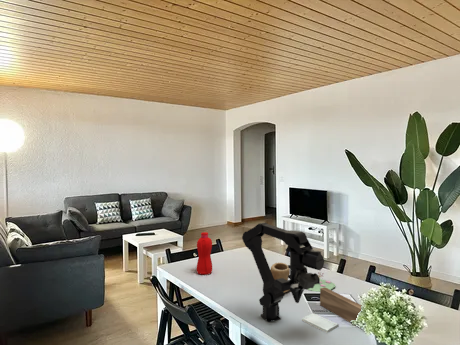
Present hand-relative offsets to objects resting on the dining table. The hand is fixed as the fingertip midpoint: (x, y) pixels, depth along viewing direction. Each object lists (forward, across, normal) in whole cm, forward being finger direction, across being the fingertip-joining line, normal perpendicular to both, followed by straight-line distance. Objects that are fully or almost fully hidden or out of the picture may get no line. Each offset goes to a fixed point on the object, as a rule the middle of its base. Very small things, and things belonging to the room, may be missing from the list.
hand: (297, 302), depth 121 cm
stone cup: (+11, +16, +34) cm, 39 cm away
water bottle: (+11, -9, +79) cm, 80 cm away
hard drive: (+12, +12, 0) cm, 17 cm away
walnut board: (+11, +26, 0) cm, 28 cm away
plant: (+12, +40, +36) cm, 55 cm away
